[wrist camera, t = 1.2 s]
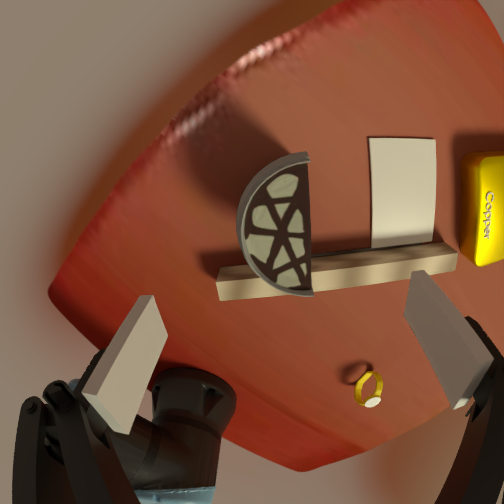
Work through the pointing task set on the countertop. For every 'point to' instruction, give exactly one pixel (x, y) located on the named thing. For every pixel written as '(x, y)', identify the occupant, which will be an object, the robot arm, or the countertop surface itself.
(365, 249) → the maple straightedge
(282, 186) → the food container
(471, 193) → the element tile
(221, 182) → the countertop surface
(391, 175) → the plate
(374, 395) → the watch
